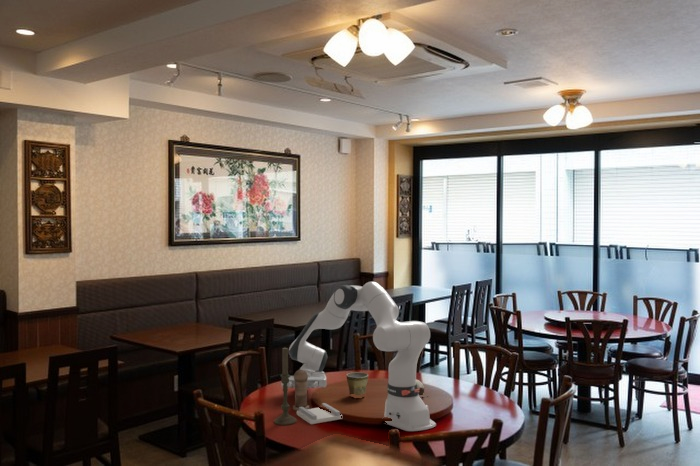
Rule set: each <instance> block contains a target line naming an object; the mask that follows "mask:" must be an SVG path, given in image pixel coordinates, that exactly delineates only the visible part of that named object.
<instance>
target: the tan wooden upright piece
mask: <svg viewBox="0 0 700 466" xmlns="http://www.w3.org/2000/svg"><path fill="white" fill-rule="evenodd" d="M293 376H294V380H295V387H294V404H293V405H292V410H293V411H296V412H297V411H299V407H304V408H305V409H310V405H309V404H308V402H307V401H308V393H307V392H308V389H307V379H308V375H307V373H306V372H305V371H304V370H300V369H297V370H296V371H295V372H294V374H293Z"/></svg>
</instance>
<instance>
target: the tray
mask: <svg viewBox="0 0 700 466" xmlns="http://www.w3.org/2000/svg"><path fill="white" fill-rule="evenodd" d="M322 405H323V406H324V407H326V408H327V409H329V411H331V413H330V412H328V411H326V410H323V409H320V408H319V407H313V408H309V409H305V408H304V407H299V411H296V415H297V416H298V417H299V418H301V419H302V420H304V421H306V422H307V423H308V424H310V425H315V424H320V423H327V422H332V421H338V420H343V414H341V411H339V410H338V409H336V408H334V406H331V405H330V404H328V403H326V402H322V403H321V406H322ZM340 414H341V415H340ZM341 416H342V418H341Z"/></svg>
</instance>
